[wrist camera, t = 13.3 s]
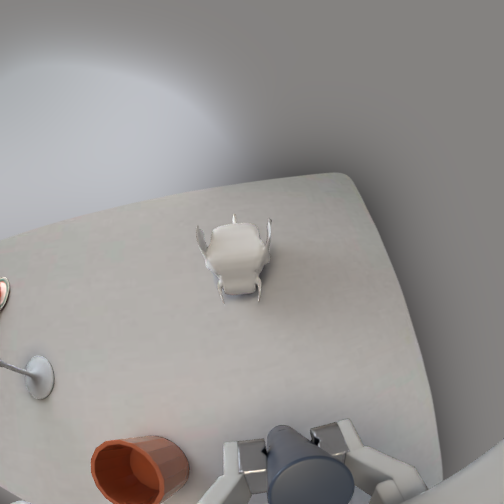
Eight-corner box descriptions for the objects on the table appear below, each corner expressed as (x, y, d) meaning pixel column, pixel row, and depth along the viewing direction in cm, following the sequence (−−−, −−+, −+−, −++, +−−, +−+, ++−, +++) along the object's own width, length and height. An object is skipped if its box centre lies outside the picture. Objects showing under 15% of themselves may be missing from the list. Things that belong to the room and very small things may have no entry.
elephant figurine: (206, 313, 36) (189, 284, 29) (206, 238, 43) (193, 198, 35) (280, 307, 36) (282, 276, 29) (269, 231, 42) (268, 190, 35)
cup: (203, 472, 25) (181, 491, 17) (157, 502, 22) (126, 522, 15) (159, 424, 28) (126, 425, 21) (117, 454, 26) (78, 460, 18)
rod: (303, 437, 14) (372, 484, 4) (281, 457, 13) (308, 539, 3) (282, 419, 15) (314, 439, 5) (261, 438, 14) (248, 494, 4)
